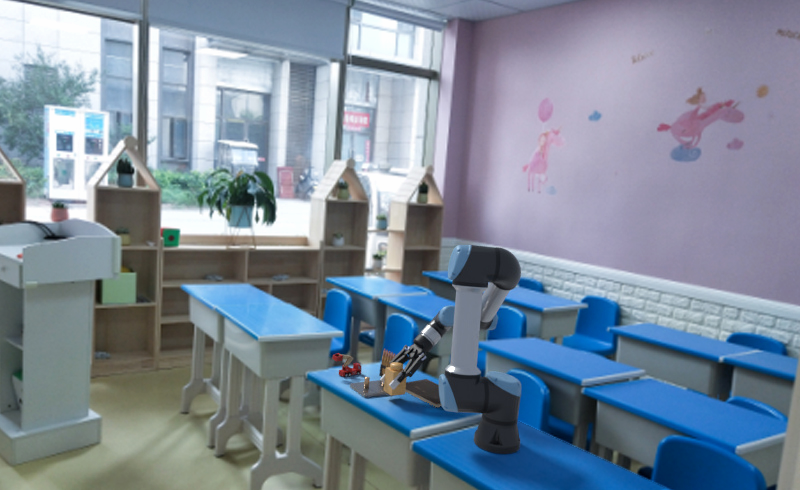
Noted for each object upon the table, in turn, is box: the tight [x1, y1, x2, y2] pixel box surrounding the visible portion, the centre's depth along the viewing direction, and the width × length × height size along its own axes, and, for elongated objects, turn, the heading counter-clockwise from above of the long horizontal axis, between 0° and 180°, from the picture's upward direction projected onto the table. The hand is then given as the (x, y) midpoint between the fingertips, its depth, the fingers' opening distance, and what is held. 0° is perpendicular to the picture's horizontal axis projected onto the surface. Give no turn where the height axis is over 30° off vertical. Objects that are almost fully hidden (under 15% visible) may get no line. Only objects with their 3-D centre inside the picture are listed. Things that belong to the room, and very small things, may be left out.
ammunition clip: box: [379, 348, 396, 378], centre depth 255 cm, size 11×2×12 cm, turn 37°
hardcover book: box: [405, 378, 442, 408], centre depth 242 cm, size 16×23×2 cm
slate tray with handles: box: [349, 375, 391, 398], centre depth 240 cm, size 12×16×6 cm
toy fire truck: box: [331, 352, 363, 378], centre depth 255 cm, size 3×14×10 cm, turn 130°
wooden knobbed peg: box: [383, 362, 408, 396], centre depth 232 cm, size 6×6×11 cm
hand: (386, 384), depth 230 cm, fingers closed on wooden knobbed peg, 6 cm apart
